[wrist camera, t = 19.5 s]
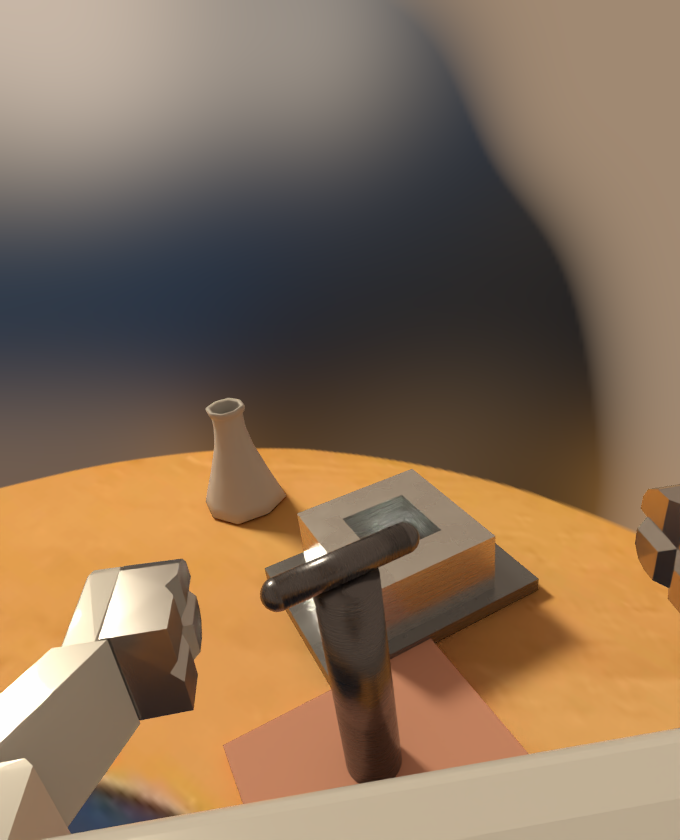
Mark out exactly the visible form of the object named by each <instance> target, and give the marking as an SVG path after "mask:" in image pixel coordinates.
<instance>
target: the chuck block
mask: <svg viewBox="0 0 680 840" xmlns="http://www.w3.org/2000/svg"><path fill="white" fill-rule="evenodd" d="M297 517H298V522H299V528H300V533H301V538H302V544H303V549H304V552H303V553H300V554H298V555H296V556H293V557H291V558H288V559H286V560H283V561H281V562H279V563H276V564H274V565H271V566H269V567H267V568H265V572H266V576H267V579H269V578H271V577H273V576H276V575H278V574H280V573H283V572H285V571H287V570H290V569H292V568H294V567H297V566H299V565H301V564H304V563H306V562H308V561H311V560H313V559H315V558H318V557H320V556H322V555H325V554H327V553H329V552H332V551H334V550H336V549H339V548H341V547H343V546H346V545H348V544H350V543H353V542H355V541H357V540H360V539H362V538H364V537H367V536H369V535H371V534H374V533H376V532H378V531H381V530H383V529H385V528H388V527H390V526H392V525H395V524H397V523H400V522H406V523H410V524H411V525H413V526H414V527H415V528H416V529H417V531H418V533H419V538H420V540H419V544H418V547H417V548H416V549H415V550H414V551H413V552H411V553H410V554H407V555H405V556H403V557H401V558H399V559H396V560H394V561H392V562H390V563H388V564H385V565H383V566H381V567H379V568H378V569H379V572H380V579H381V588H382V596H383V604H384V613H385V621H386V629H387V638H388V646H389V654H390V659H392V658H394V657H396V656H398V655H400V654H402V653H403V652H405V651H407V650H409V649H411V648H413V647H415V646H417V645H419V644H421V643H423V642H425V641H427V640H429V639H432V641H433V642H434V643H436V642H438V641H440V640H442V639H444V638H446V637H448V636H449V635H451V634H453V633H455V632H457V631H459V630H461V629H463V628H465V627H467V626H469V625H471V624H473V623H475V622H476V621H478V620H480V619H482V618H484V617H486V616H488V615H490V614H492V613H494V612H496V611H498V610H500V609H501V608H503V607H505V606H507V605H509V604H511V603H513V602H515V601H517V600H519V599H521V598H523V597H525V596H527V595H528V594H530V593H532V592H534V591H536V590H538V580H539V579H538V578H537V577H536V576H534V575H533V574H532V573H531V572H530V571H528V570H527V569H526V568H525V567H524V566H522V565H521V564H520V563H519V562H517V561H516V560H515V559H514V558H513V557H511V556H510V555H509V554H508V553H507V552H505V551H504V550H503V549H502V548H500V547H499V546H498V545H497V544H496V543H495V536H494V535H493V534H492V533H491V532H490V531H488V530H487V529H486V528H485V527H483V526H482V525H481V524H480V523H478V522H477V521H476V520H475V519H473V518H472V517H471V516H470V515H468V514H467V513H466V512H465V511H464V510H462V509H461V508H460V507H459V506H457V505H456V504H455V503H454V502H452V501H451V500H450V499H449V498H447V497H446V496H445V495H444V494H443V493H441V492H440V491H439V490H438V489H436V488H435V487H434V486H433V485H431V484H430V483H429V482H428V481H426V480H425V479H424V478H423V477H421V476H420V475H419V474H418V473H417V472H415V471H414V470H413V469H411V470H408V471H405V472H403V473H400V474H398V475H395V476H393V477H390V478H387V479H385V480H382V481H380V482H377V483H375V484H372V485H369V486H367V487H364V488H362V489H359V490H357V491H354V492H351V493H349V494H346V495H344V496H341V497H339V498H336V499H333V500H331V501H328V502H326V503H323V504H321V505H318V506H315V507H313V508H310V509H308V510H305V511H303V512H300V513H297ZM286 612H287V613H288V615H289V617H290V618H291V620H292V622H293V623H294V625H295V627H296V629H297V630H298V632H299V634H300V635H301V637H302V639H303V641H304V642H305V644H306V646H307V647H308V649H309V651H310V653H311V654H312V656H313V658H314V659H315V661H316V663H317V665H318V666H319V668H320V670H321V671H322V673H323V675H324V676H325V678H326V680H327V682H328V683H329V685H330V680H329V675H328V670H327V665H326V660H325V655H324V650H323V645H322V640H321V634H320V629H319V624H318V619H317V614H316V609H315V604H314V599H313V597H312V598H310V599H308V600H306V601H304V602H301V603H299V604H297V605H295V606H293V607H290V608H288V609H286ZM330 687H331V685H330Z"/></svg>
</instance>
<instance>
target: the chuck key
mask: <svg viewBox="0 0 680 840" xmlns="http://www.w3.org/2000/svg"><path fill="white" fill-rule="evenodd" d="M419 540H420V538H419V533H418V531H417V529H416V528H415V527H414V526H413V525H411V524H410V523H406V522H400V523H397V524H395V525H392V526H390V527H388V528H385V529H383V530H381V531H378V532H376V533H374V534H371V535H369V536H367V537H364V538H362V539H360V540H357V541H355V542H353V543H350V544H348V545H346V546H343V547H341V548H339V549H336V550H334V551H332V552H329V553H327V554H325V555H322V556H320V557H318V558H315V559H313V560H311V561H308V562H306V563H304V564H301V565H299V566H297V567H294V568H292V569H290V570H287V571H285V572H283V573H280V574H278V575H276V576H273V577H271V578H269V579H268V580H267V581H265V583H264V584H263V586H262V588H261V591H260V598H261V601H262V603H263V605H264V606H265V607H266V608H267V609H269V610H270V611H274V612H281V611H284V610H286V609H288V608H290V607H293V606H295V605H297V604H299V603H301V602H304V601H306V600H308V599H310V598H312V597H313V599H314V604H315V609H316V614H317V619H318V624H319V629H320V634H321V640H322V645H323V650H324V655H325V660H326V665H327V670H328V675H329V680H330V685H331V690H332V696H333V701H334V706H335V711H336V716H337V721H338V726H339V731H340V736H341V741H342V746H343V751H344V757H345V762H346V766H347V770H348V772H349V774H350V776H351V777H352V778H353V779H354V780H355V781H356V782H357V783H359V784H361V783H367V782H372V781H378V780H384V779H390V778H395V777H396V775H397V774H398V772H399V770H400V767H401V763H402V755H401V746H400V738H399V729H398V721H397V713H396V704H395V696H394V688H393V679H392V671H391V663H390V654H389V646H388V638H387V629H386V621H385V613H384V604H383V596H382V588H381V579H380V572H379V569H378V568H379V567H381V566H383V565H385V564H388V563H390V562H392V561H394V560H396V559H399V558H401V557H403V556H405V555H407V554H410V553H411V552H413V551H414V550H415V549H416V548H417V547H418V544H419Z"/></svg>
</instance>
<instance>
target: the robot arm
mask: <svg viewBox="0 0 680 840" xmlns="http://www.w3.org/2000/svg"><path fill="white" fill-rule="evenodd" d="M641 509H642V511H643V512H644V513H645V515H646V516H647V518H646V519H645V520H644V521H643V522H642V524H641V525H640V526H639V527H638V528H637V533H636V541H635V545H636V550H637V555H638V559H639V561H640V563H641V565H642V567H643V569H644V570H645V572H646V573H647V574H648V575H649V577H650V578H651V579H652V580H653V581H655V582H657V583H659V584H662V585H664V586H666V587H668V600H669V601H670V602H671V603H672V604H673V606H674V607H675V608H676V609H677V610H678V611H679V613H680V484H678V485H673V486H665V487H659V488H652V489H648V490H647V492H646V493H645V495H644V496H643V500H642V505H641ZM190 577H191V576H190V573H189V570H188V567H187V564H186V561H184V560H183V559H176V560H168V561H160V562H153V563H145V564H137V565H129V566H124V567H117V568H109V569H102V570H94V571H93V572H92V573H91V574H90V575H89V576H88V577H87V580H86V583H85V585H84V588H83V591H82V593H81V596H80V599H79V601H78V604H77V606H76V609H75V612H74V614H73V617H72V620H71V622H70V625H69V628H68V630H67V633H66V635H65V638H64V641H63V643H62V646H61V647H56V648H52V649H51V650H49V651H48V652H47V653H46V654H45V655H44V656H43V657H42V658H40V659H39V660H38V661H37V662H36V663H35V664H34V665H33V666H31V667H30V668H29V669H28V670H27V671H26V672H25V673H24V674H23V675H21V676H20V677H19V678H18V679H17V680H16V681H15V682H14V683H12V684H11V685H10V686H9V687H8V688H7V689H6V690H5V691H3V692H2V693H1V694H0V840H680V728H676V729H670V730H665V731H659V732H653V733H648V734H642V735H636V736H630V737H625V738H619V739H613V740H608V741H602V742H596V743H590V744H585V745H579V746H573V747H567V748H562V749H556V750H550V751H545V752H539V753H533V754H527V755H522V756H516V757H510V758H504V759H499V760H493V761H487V762H481V763H476V764H470V765H464V766H458V767H453V768H447V769H441V770H435V771H430V772H424V773H418V774H413V775H407V776H401V777H395V778H390V779H384V780H378V781H372V782H367V783H361V784H355V785H350V786H344V787H338V788H332V789H327V790H321V791H315V792H310V793H304V794H298V795H292V796H287V797H281V798H275V799H269V800H264V801H258V802H252V803H247V804H241V805H235V806H229V807H224V808H218V809H212V810H207V811H201V812H195V813H189V814H184V815H178V816H172V817H166V818H161V819H155V820H149V821H144V822H138V823H132V824H126V825H121V826H115V827H109V828H104V829H98V830H92V831H86V832H81V833H75V834H71V833H70V832H69V830H68V828H67V827H68V826H69V824H70V823H71V822H72V820H73V819H74V817H75V816H76V814H77V813H78V812H79V810H80V809H81V807H82V806H83V804H84V803H85V802H86V800H87V799H88V797H89V796H90V794H91V793H92V792H93V790H94V789H95V787H96V786H97V784H98V783H99V782H100V780H101V779H102V777H103V776H104V775H105V773H106V772H107V770H108V769H109V767H110V766H111V765H112V763H113V762H114V760H115V759H116V757H117V756H118V755H119V753H120V752H121V750H122V749H123V747H124V746H125V745H126V743H127V742H128V740H129V739H130V737H131V736H132V735H133V733H134V732H135V730H136V729H137V727H138V726H139V725H140V721H139V720H144V719H149V718H155V717H160V716H165V715H170V714H175V713H180V712H186V711H191V710H194V701H195V693H196V685H197V677H198V674H197V670H196V667H195V663H194V659H195V658H196V656H197V655H198V654H199V653H200V650H201V640H202V629H201V616H200V609H199V605H198V601H197V597H196V596H195V595H194V594H193V593H191V592H190V591H189V584H190Z"/></svg>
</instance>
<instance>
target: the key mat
mask: <svg viewBox="0 0 680 840" xmlns="http://www.w3.org/2000/svg"><path fill="white" fill-rule="evenodd" d="M390 663H391V671H392V679H393V688H394V696H395V704H396V713H397V721H398V729H399V738H400V746H401V755H402V763H401V767H400V770H399V772H398V774H397V775H396V777H401V776H407V775H413V774H418V773H424V772H430V771H435V770H441V769H447V768H453V767H458V766H464V765H470V764H476V763H481V762H487V761H493V760H499V759H504V758H510V757H516V756H522V755H527V754H528V753H527V751H526V750H525V749H524V748H523V747H522V746H521V744H520V743H519V742H518V741H517V740H516V738H515V737H514V736H513V735H512V734H511V733H510V731H509V730H508V729H507V728H506V727H505V726H504V724H503V723H502V722H501V721H500V720H499V718H498V717H497V716H496V715H495V714H494V713H493V711H492V710H491V709H490V708H489V707H488V705H487V704H486V703H485V702H484V701H483V700H482V698H481V697H480V696H479V695H478V694H477V692H476V691H475V690H474V689H473V688H472V687H471V685H470V684H469V683H468V682H467V681H466V679H465V678H464V677H463V676H462V675H461V674H460V672H459V671H458V670H457V669H456V668H455V666H454V665H453V664H452V663H451V662H450V661H449V659H448V658H447V657H446V656H445V655H444V653H443V652H442V651H441V650H440V649H439V648H438V646H437V645H436V644H435V643H434V642H433V641H432V639H429V640H427V641H425V642H423V643H421V644H419V645H417V646H415V647H413V648H411V649H409V650H407V651H405V652H403V653H402V654H400V655H398V656H396V657H394V658H392V659H390ZM223 747H224V750H225V753H226V756H227V758H228V761H229V764H230V767H231V770H232V773H233V776H234V779H235V781H236V784H237V787H238V790H239V793H240V796H241V799H242V802H243V804H247V803H252V802H258V801H264V800H269V799H275V798H281V797H287V796H292V795H298V794H304V793H310V792H315V791H321V790H327V789H332V788H338V787H344V786H350V785H355V784H359V783H357V782H356V781H355V780H354V779H353V778H352V777H351V776H350V774H349V772H348V770H347V766H346V762H345V757H344V751H343V746H342V741H341V736H340V731H339V726H338V721H337V716H336V711H335V706H334V701H333V696H332V690H330V691H328V692H326V693H324V694H322V695H320V696H318V697H316V698H314V699H312V700H310V701H308V702H306V703H304V704H302V705H300V706H298V707H297V708H295V709H293V710H291V711H289V712H287V713H285V714H283V715H281V716H279V717H277V718H275V719H273V720H271V721H269V722H267V723H265V724H263V725H261V726H260V727H258V728H256V729H254V730H252V731H250V732H248V733H246V734H244V735H242V736H240V737H238V738H236V739H234V740H232V741H230V742H228V743H226V744H225V745H223Z"/></svg>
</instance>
